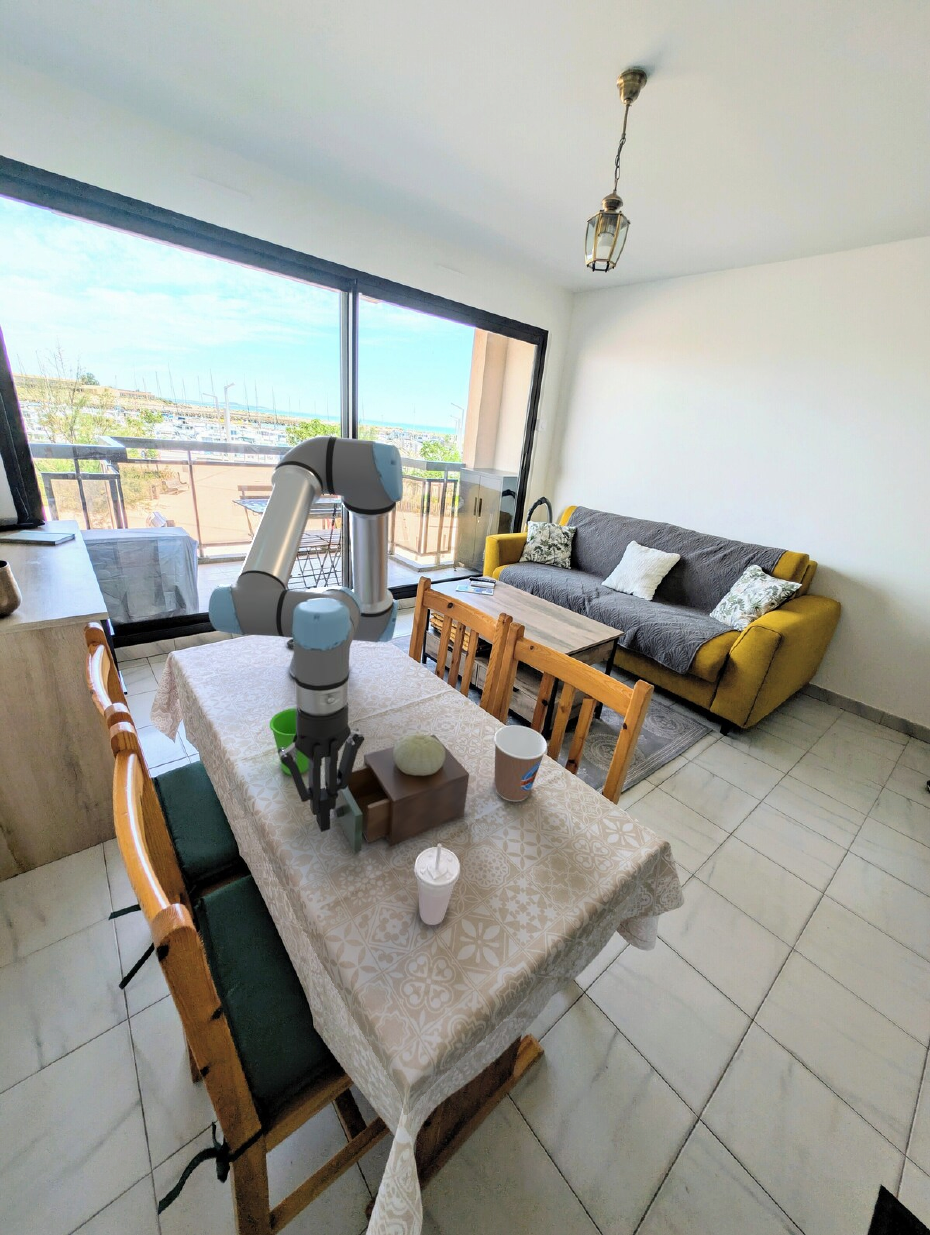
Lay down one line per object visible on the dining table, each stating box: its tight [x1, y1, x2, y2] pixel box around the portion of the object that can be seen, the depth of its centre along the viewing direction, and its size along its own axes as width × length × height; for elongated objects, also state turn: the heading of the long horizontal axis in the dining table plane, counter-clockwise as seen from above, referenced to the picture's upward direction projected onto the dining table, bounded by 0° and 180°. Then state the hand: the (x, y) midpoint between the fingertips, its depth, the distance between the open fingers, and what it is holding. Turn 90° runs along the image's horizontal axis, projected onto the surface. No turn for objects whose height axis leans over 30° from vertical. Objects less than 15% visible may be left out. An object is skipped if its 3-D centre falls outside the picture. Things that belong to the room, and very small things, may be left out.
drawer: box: [332, 765, 391, 854], centre depth 82 cm, size 15×12×8 cm
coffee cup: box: [493, 724, 548, 803], centre depth 93 cm, size 10×10×12 cm
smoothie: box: [414, 843, 461, 926], centre depth 67 cm, size 6×6×14 cm
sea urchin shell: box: [393, 732, 445, 776], centre depth 84 cm, size 9×8×8 cm
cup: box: [269, 707, 308, 776], centre depth 93 cm, size 9×9×11 cm
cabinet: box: [362, 734, 470, 847], centre depth 86 cm, size 15×13×10 cm
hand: (323, 824), depth 78 cm, fingers closed
